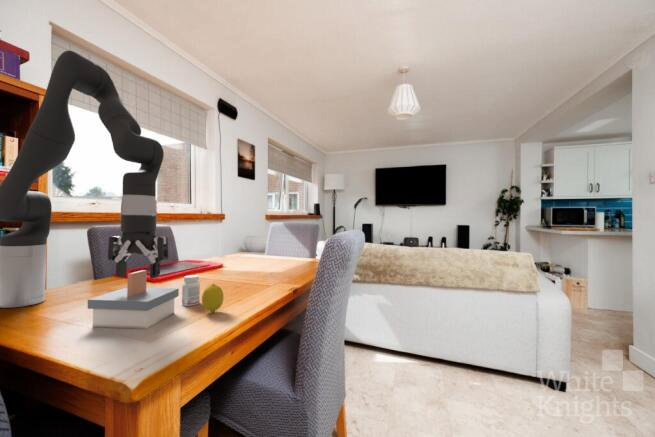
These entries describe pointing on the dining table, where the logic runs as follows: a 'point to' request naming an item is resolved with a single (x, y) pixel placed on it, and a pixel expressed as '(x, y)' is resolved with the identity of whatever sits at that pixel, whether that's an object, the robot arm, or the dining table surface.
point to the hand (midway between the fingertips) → (138, 277)
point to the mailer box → (132, 316)
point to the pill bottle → (191, 290)
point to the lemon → (212, 298)
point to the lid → (134, 295)
